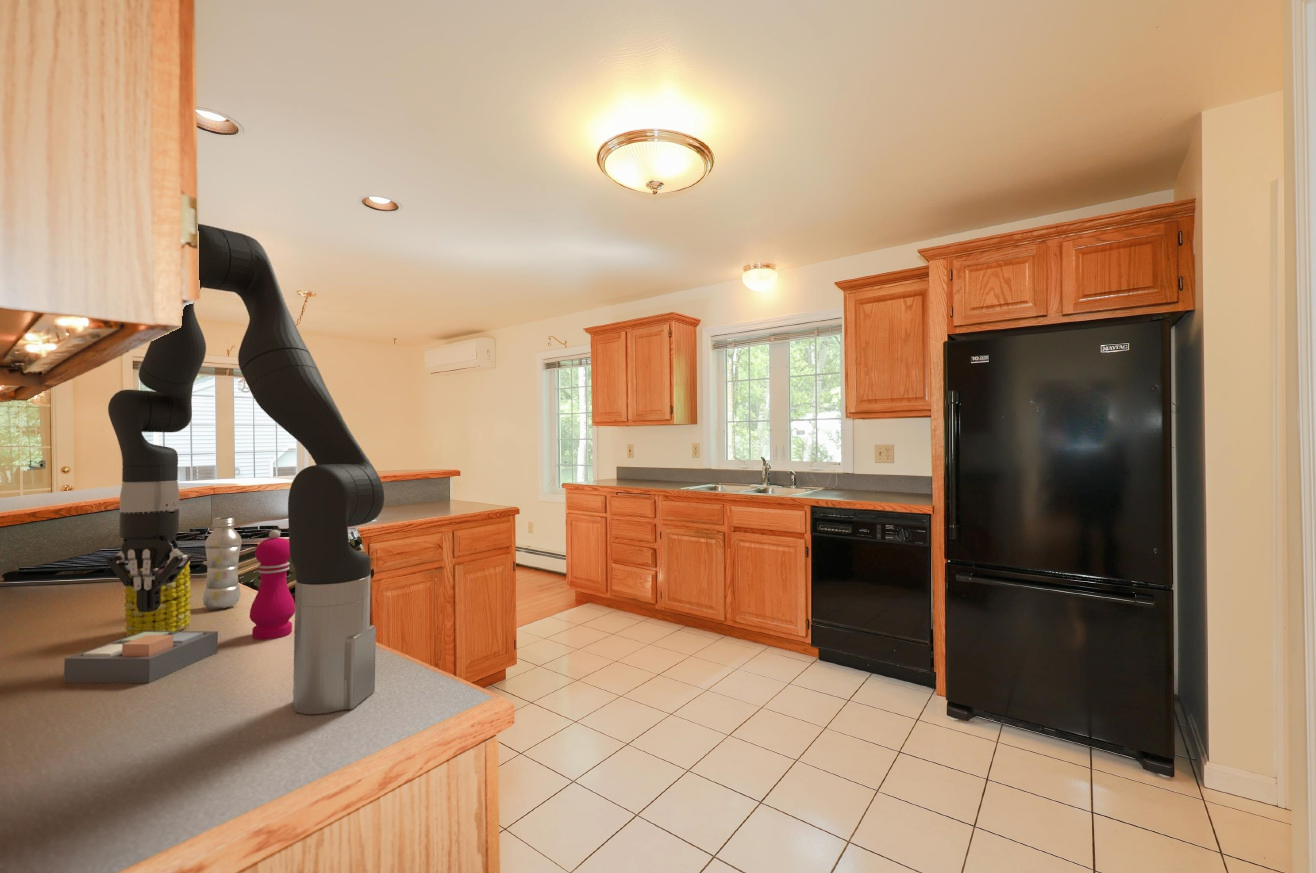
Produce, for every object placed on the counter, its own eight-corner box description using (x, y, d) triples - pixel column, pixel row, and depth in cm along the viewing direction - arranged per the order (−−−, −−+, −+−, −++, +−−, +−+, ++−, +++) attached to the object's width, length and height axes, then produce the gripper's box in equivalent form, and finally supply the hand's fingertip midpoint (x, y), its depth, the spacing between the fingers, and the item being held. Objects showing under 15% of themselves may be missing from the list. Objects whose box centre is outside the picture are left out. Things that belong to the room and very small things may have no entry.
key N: (135, 664, 90) (136, 644, 90) (109, 675, 86) (110, 653, 86) (109, 664, 90) (110, 643, 90) (82, 674, 86) (83, 653, 86)
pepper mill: (303, 629, 110) (305, 527, 111) (275, 641, 103) (277, 532, 104) (269, 627, 111) (272, 526, 112) (239, 640, 104) (241, 531, 104)
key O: (202, 651, 96) (203, 632, 96) (182, 660, 92) (182, 640, 92) (178, 651, 96) (179, 632, 96) (156, 660, 92) (157, 640, 92)
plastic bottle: (210, 605, 127) (212, 517, 128) (245, 602, 129) (247, 516, 130) (196, 612, 121) (198, 520, 122) (233, 610, 123) (235, 519, 124)
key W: (168, 651, 96) (168, 632, 96) (145, 660, 92) (146, 640, 92) (144, 651, 96) (144, 632, 96) (120, 660, 92) (121, 640, 92)
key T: (172, 655, 90) (173, 635, 90) (148, 665, 86) (149, 644, 86) (146, 655, 90) (147, 635, 90) (121, 665, 86) (122, 644, 86)
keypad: (217, 652, 98) (217, 631, 98) (149, 682, 85) (149, 658, 85) (143, 651, 98) (143, 630, 98) (63, 682, 85) (64, 658, 85)
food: (194, 629, 115) (171, 648, 105) (123, 622, 111) (93, 641, 101) (215, 556, 116) (195, 568, 106) (145, 546, 112) (118, 558, 102)
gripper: (89, 510, 91) (87, 617, 91) (169, 509, 91) (167, 617, 91) (132, 506, 99) (131, 605, 98) (206, 505, 99) (205, 604, 98)
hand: (148, 610), depth 95 cm, fingers closed
